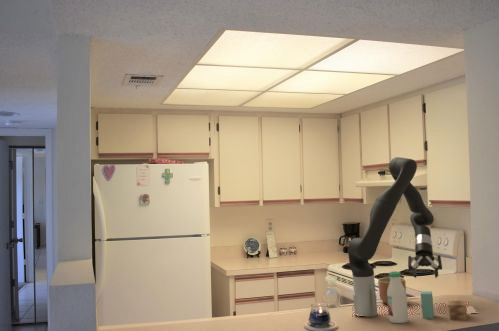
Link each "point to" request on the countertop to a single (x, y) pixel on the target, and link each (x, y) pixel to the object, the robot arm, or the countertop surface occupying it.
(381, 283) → the planter
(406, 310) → the milk bottle
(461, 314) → the tower base
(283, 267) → the countertop surface
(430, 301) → the teal brick
